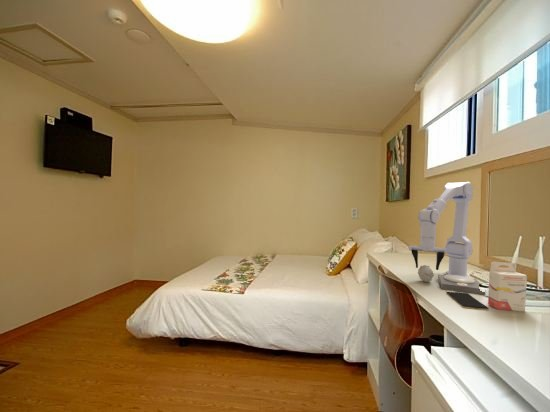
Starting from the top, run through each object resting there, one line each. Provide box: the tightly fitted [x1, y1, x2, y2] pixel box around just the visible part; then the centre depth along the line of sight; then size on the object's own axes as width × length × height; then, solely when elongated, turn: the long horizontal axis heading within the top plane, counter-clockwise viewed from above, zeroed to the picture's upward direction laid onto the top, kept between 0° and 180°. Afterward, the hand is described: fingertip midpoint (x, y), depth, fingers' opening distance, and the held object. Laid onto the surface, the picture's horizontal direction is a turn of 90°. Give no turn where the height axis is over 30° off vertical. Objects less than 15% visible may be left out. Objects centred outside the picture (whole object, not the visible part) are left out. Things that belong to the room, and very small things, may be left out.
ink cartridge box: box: [487, 261, 528, 312], centre depth 92 cm, size 9×5×15 cm, turn 84°
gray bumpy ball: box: [417, 264, 435, 283], centre depth 120 cm, size 6×7×7 cm
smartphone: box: [446, 291, 490, 311], centre depth 97 cm, size 7×1×15 cm
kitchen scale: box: [437, 274, 486, 295], centre depth 115 cm, size 16×14×3 cm
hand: (426, 268), depth 120 cm, fingers open, 7 cm apart
